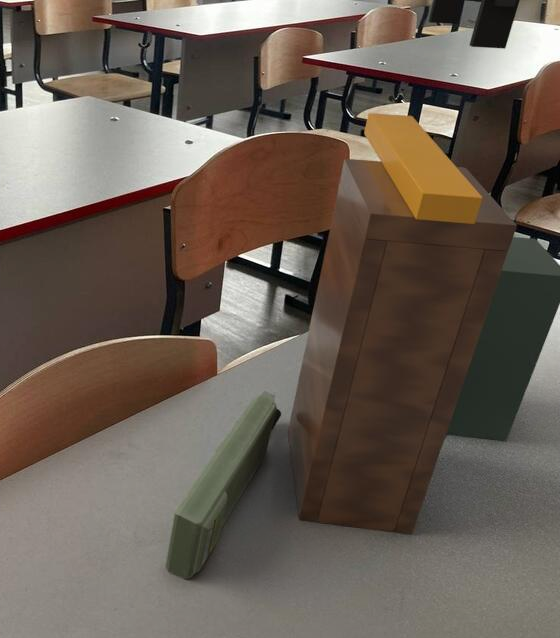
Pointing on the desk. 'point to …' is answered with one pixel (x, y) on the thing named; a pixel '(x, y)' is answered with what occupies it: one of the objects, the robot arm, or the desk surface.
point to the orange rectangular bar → (422, 170)
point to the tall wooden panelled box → (388, 350)
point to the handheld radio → (220, 487)
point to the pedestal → (509, 342)
